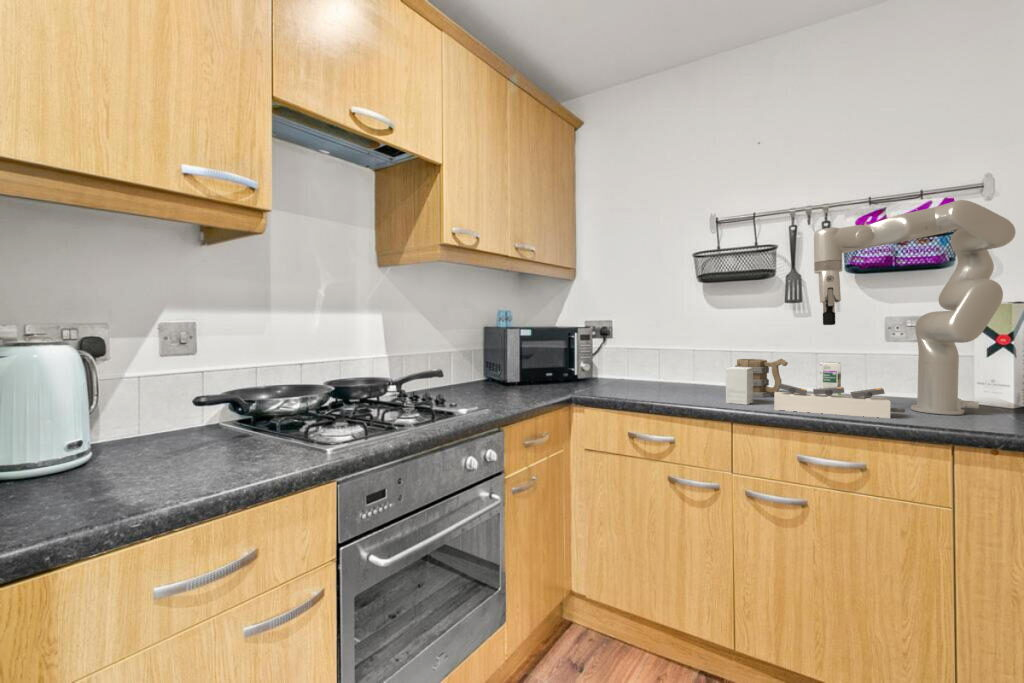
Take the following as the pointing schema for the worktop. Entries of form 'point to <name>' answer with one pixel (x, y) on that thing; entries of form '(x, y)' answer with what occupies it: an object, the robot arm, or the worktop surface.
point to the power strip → (834, 404)
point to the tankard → (763, 375)
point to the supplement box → (739, 385)
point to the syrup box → (830, 375)
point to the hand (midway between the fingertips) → (829, 324)
